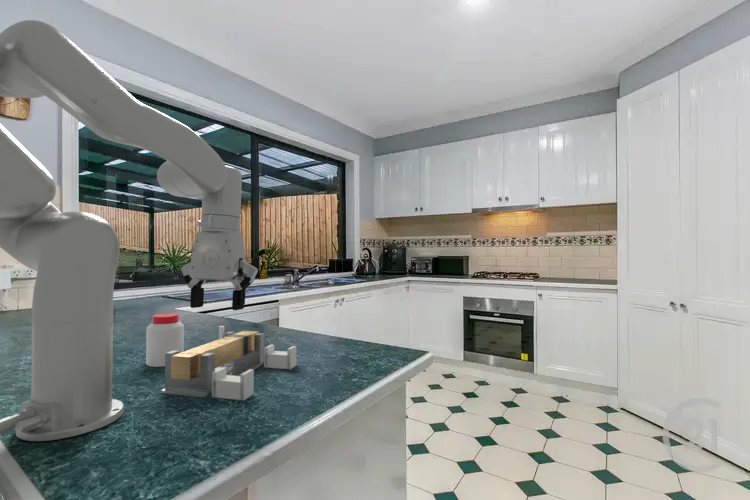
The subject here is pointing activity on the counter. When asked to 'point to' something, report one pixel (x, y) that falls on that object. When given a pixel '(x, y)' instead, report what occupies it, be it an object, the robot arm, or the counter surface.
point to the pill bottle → (163, 338)
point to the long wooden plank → (224, 349)
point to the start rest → (249, 375)
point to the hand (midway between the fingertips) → (217, 308)
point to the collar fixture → (213, 368)
